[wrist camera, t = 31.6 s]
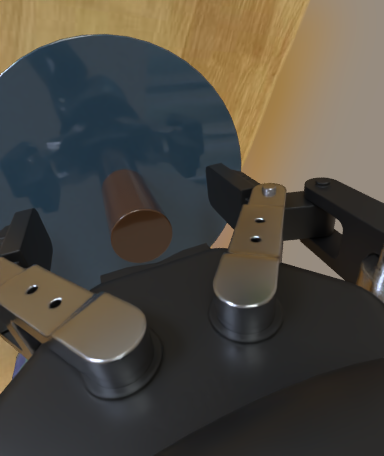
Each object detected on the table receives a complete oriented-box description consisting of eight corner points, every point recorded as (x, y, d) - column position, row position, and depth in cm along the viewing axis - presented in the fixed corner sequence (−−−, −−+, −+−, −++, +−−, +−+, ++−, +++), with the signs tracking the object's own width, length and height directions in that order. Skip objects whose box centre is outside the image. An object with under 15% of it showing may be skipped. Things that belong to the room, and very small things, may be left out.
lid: (-103, 59, 11) (-263, 52, 6) (226, 20, 14) (312, -7, 9) (41, 309, 18) (27, 404, 13) (236, 247, 21) (286, 303, 16)
